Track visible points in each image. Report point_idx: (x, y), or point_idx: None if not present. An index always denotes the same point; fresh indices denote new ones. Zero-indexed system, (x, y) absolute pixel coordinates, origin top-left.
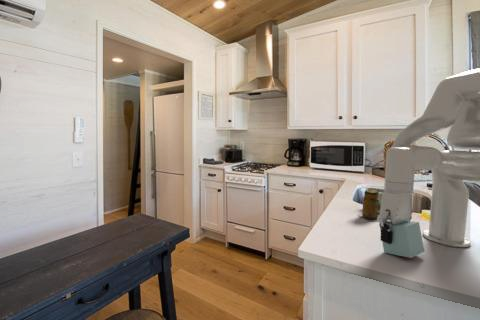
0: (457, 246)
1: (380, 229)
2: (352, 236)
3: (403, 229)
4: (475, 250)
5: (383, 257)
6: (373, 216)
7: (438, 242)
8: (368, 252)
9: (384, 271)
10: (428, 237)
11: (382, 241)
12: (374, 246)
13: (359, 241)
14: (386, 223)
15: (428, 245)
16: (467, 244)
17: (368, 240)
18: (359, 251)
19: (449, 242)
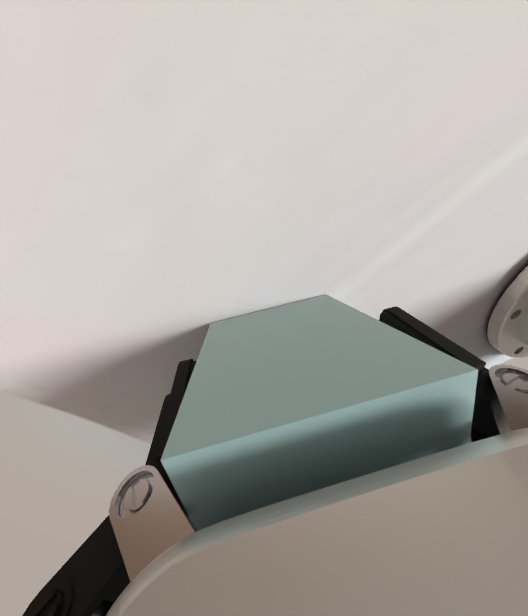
0: (495, 348)
1: (182, 406)
2: (148, 6)
3: None
4: (500, 363)
5: (170, 354)
6: None
7: (494, 316)
8: (122, 306)
9: (99, 420)
10: (526, 280)
11: (201, 348)
12: (211, 259)
13: (154, 155)
14: (257, 471)
15: (445, 314)
16: (524, 356)
17: (240, 168)
18: (66, 285)
19: (506, 339)
